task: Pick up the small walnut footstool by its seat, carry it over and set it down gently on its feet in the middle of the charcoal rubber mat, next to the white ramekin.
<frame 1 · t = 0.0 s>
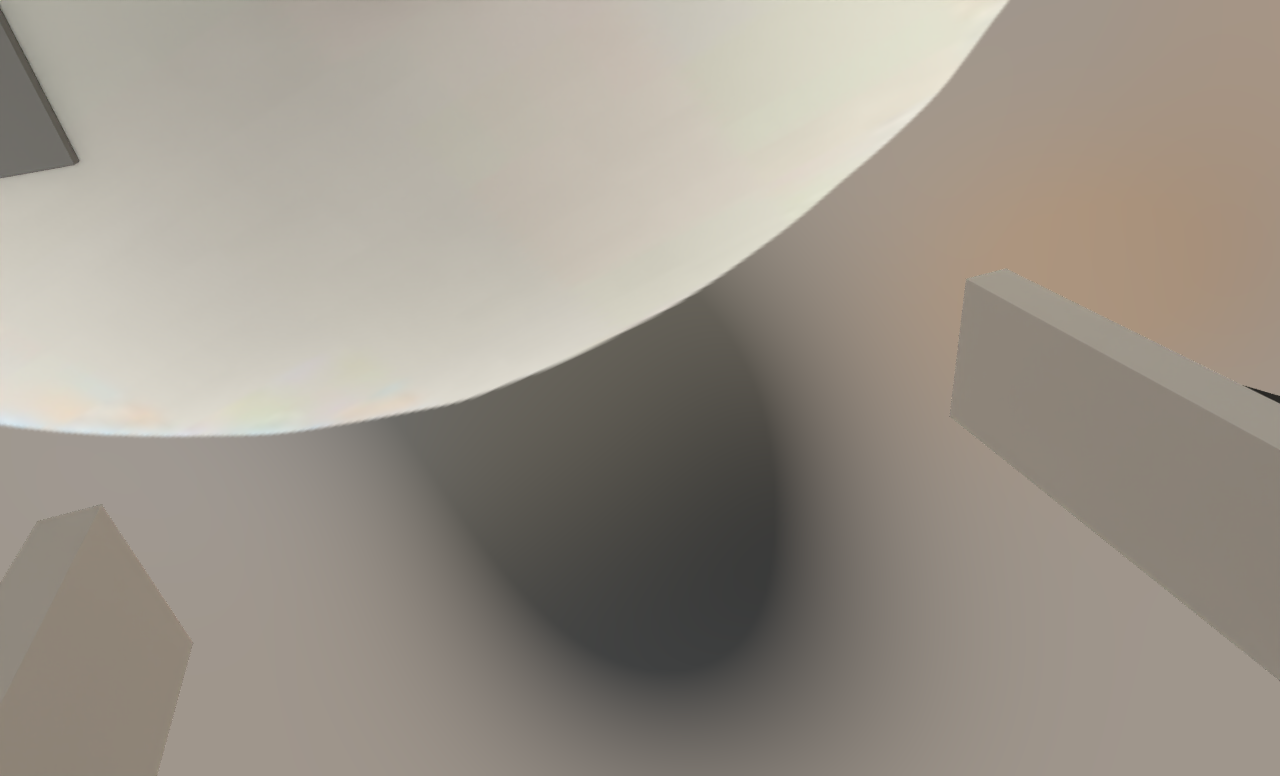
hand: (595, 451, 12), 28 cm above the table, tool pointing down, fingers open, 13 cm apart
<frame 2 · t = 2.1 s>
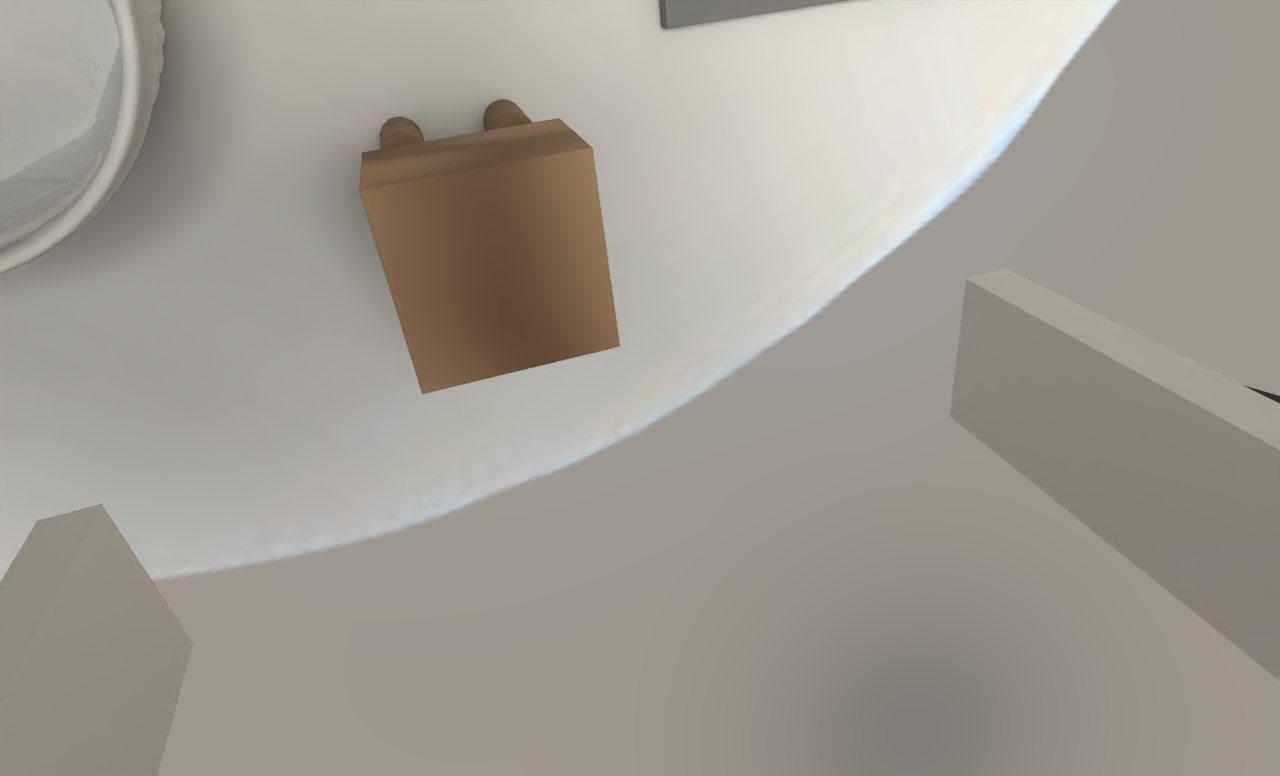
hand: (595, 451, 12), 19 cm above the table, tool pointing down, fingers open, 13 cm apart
stool: (465, 179, 27), on the table
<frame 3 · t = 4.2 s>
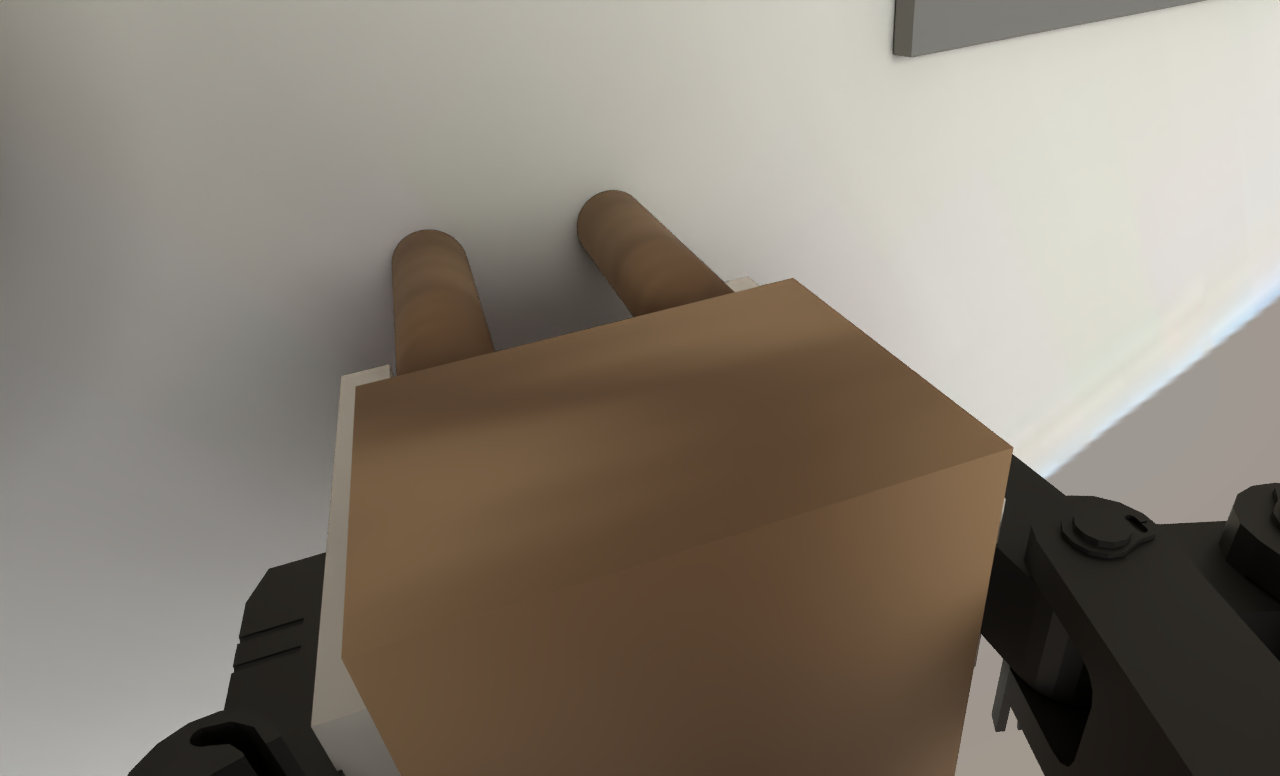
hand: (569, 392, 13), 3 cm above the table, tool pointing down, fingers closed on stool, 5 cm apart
stool: (540, 326, 15), on the table, touching gripper
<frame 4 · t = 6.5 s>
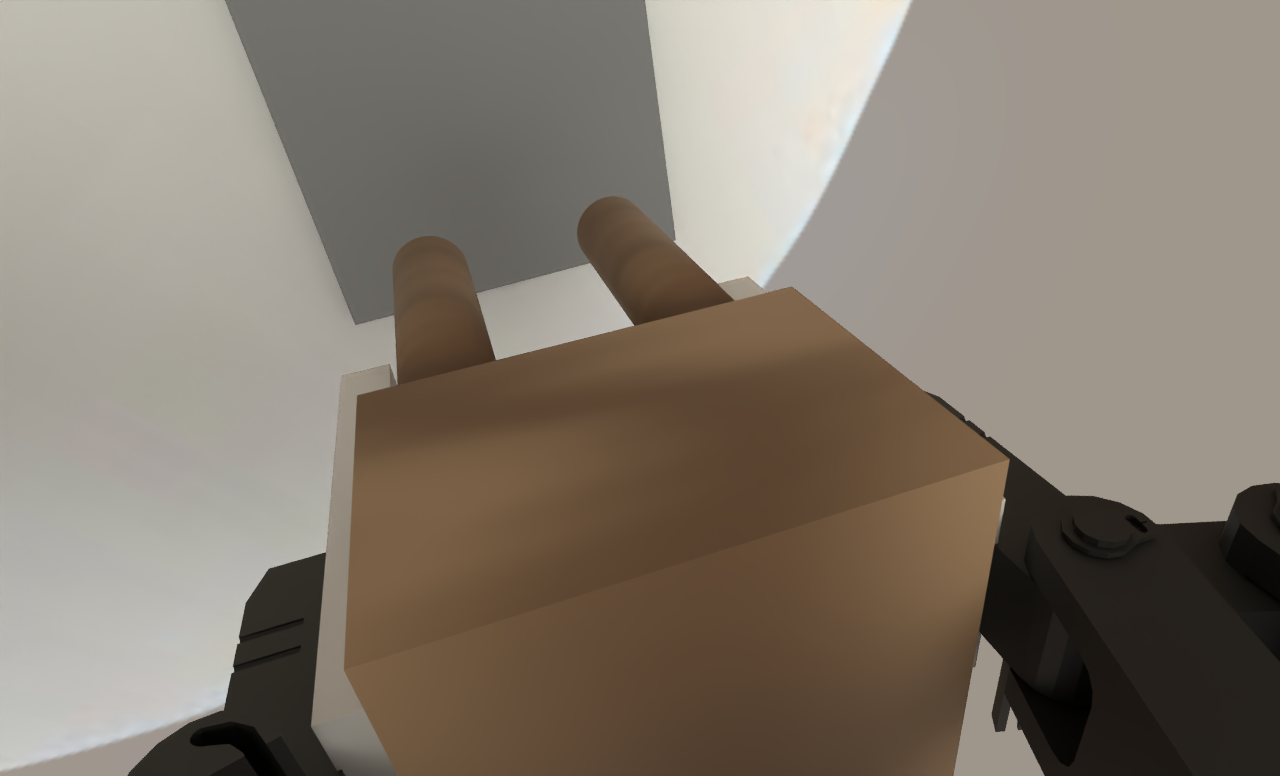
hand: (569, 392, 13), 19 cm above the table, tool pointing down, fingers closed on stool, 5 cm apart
stool: (540, 332, 16), point 16 cm above the table, touching gripper
mat: (476, 108, 28), on the table
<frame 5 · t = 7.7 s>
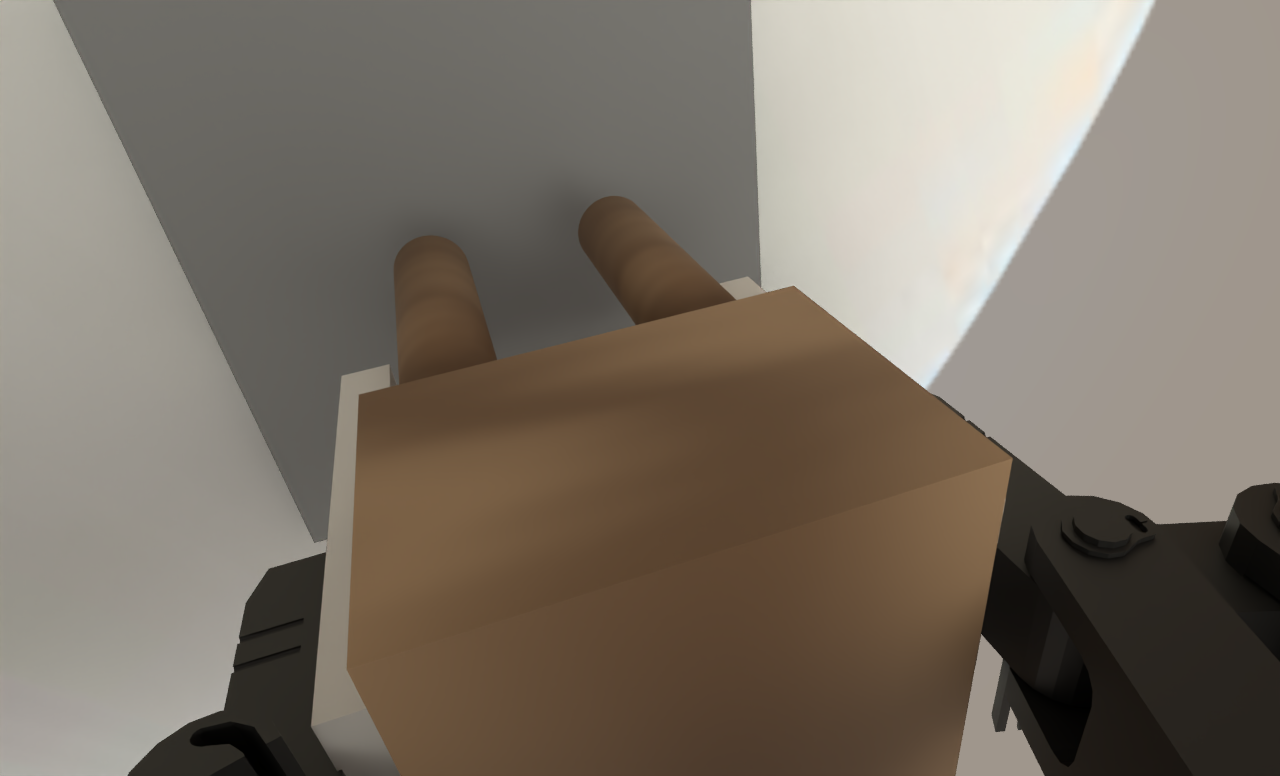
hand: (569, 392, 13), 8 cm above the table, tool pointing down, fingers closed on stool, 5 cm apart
stool: (541, 331, 16), point 5 cm above the table, touching gripper
mat: (500, 250, 19), on the table
when the fingers open (5 cm above the table, at t = 8.6 s): stool drops 1 cm, resting on mat.
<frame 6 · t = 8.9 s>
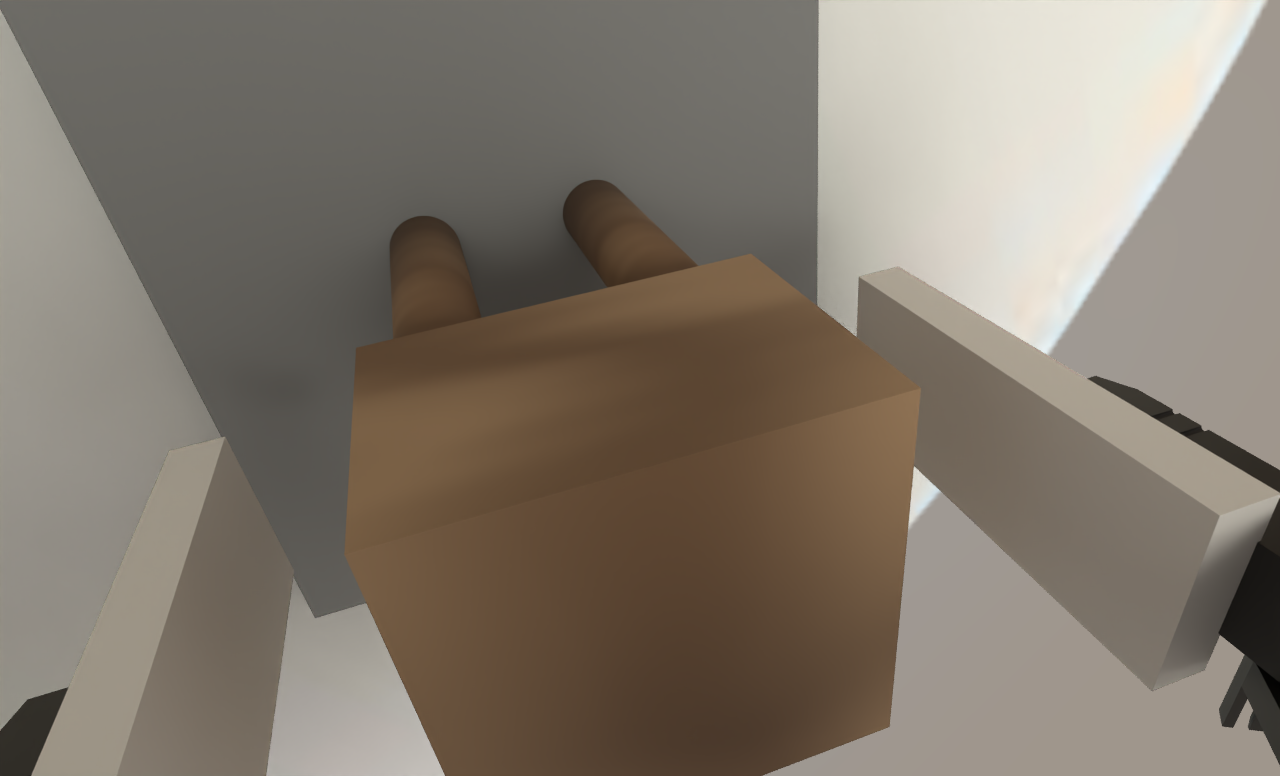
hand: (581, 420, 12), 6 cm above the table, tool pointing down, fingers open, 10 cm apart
stool: (529, 308, 16), point 1 cm above the table, touching mat
mat: (526, 294, 17), on the table
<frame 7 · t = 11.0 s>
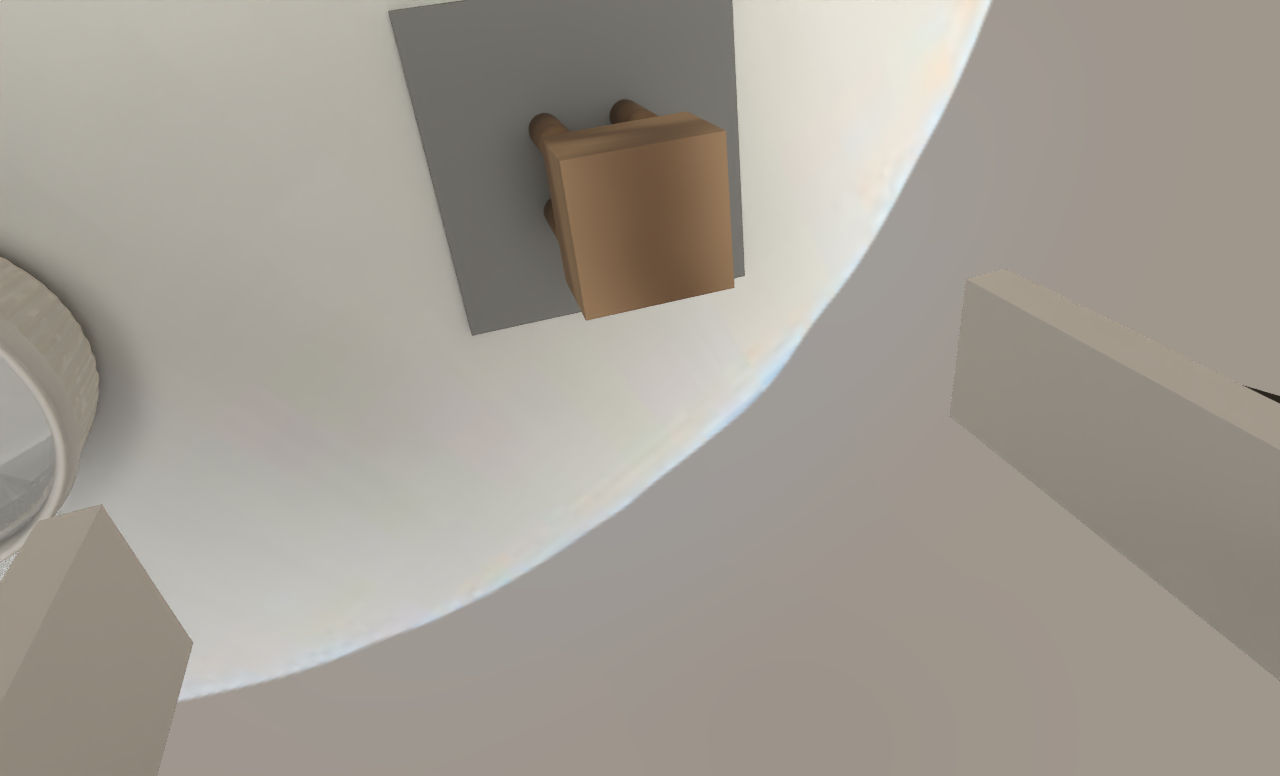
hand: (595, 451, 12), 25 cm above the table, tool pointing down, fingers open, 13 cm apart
stool: (591, 164, 33), point 1 cm above the table, touching mat
mat: (589, 159, 34), on the table
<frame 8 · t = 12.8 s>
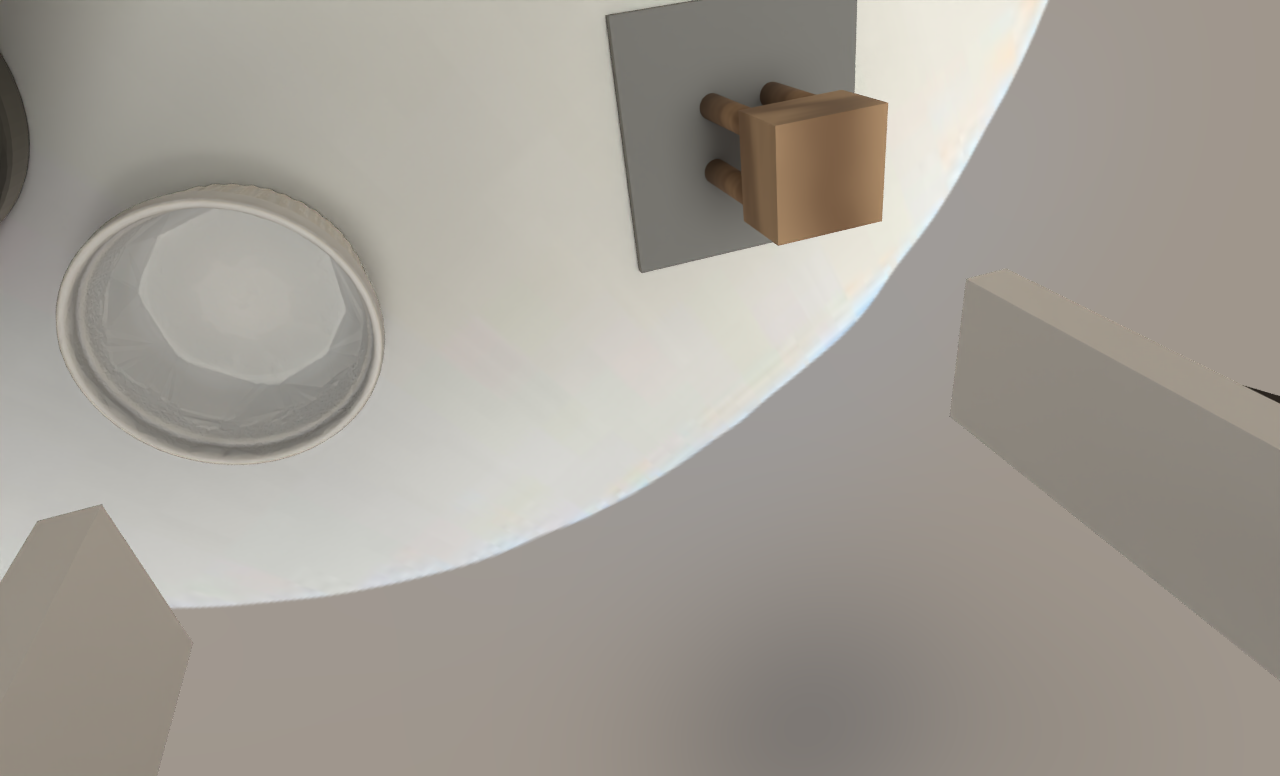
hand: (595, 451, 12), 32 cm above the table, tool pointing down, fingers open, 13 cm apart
ramekin: (252, 286, 40), on the table
stool: (743, 133, 42), point 1 cm above the table, touching mat
mat: (739, 130, 43), on the table
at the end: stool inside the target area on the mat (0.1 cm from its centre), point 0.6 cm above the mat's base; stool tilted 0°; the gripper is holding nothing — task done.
